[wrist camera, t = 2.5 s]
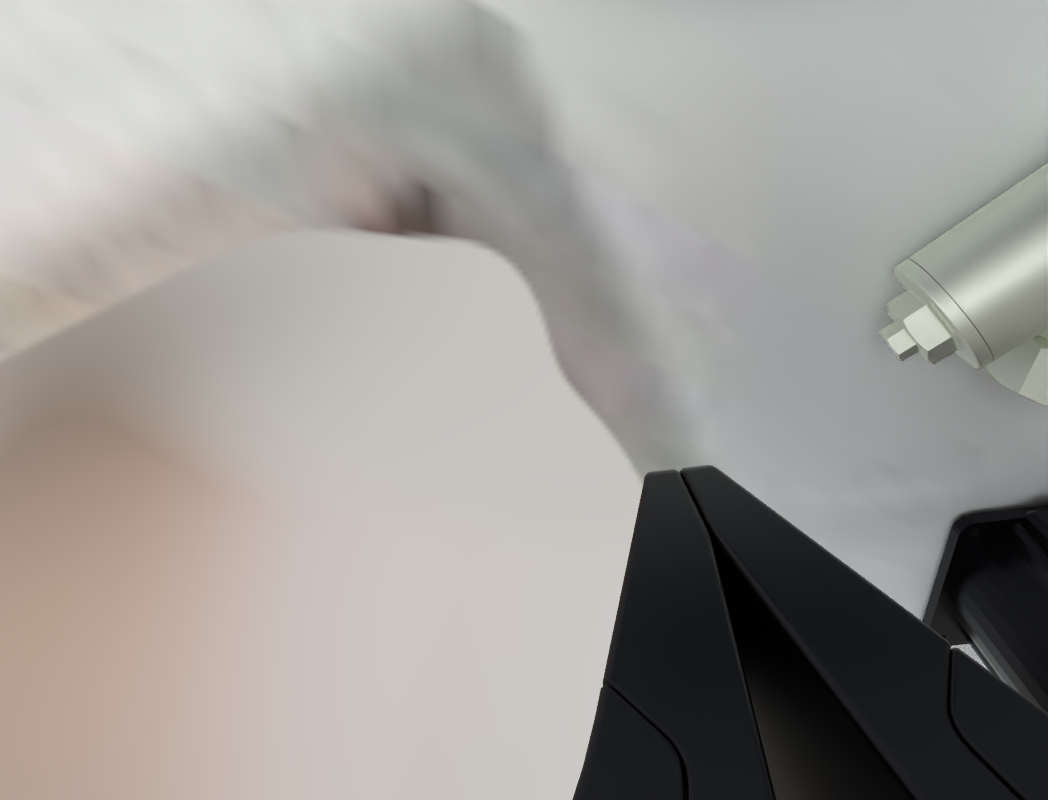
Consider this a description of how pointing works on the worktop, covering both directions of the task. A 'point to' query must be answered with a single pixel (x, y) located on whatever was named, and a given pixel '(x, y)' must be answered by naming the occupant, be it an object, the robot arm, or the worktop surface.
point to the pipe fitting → (983, 292)
